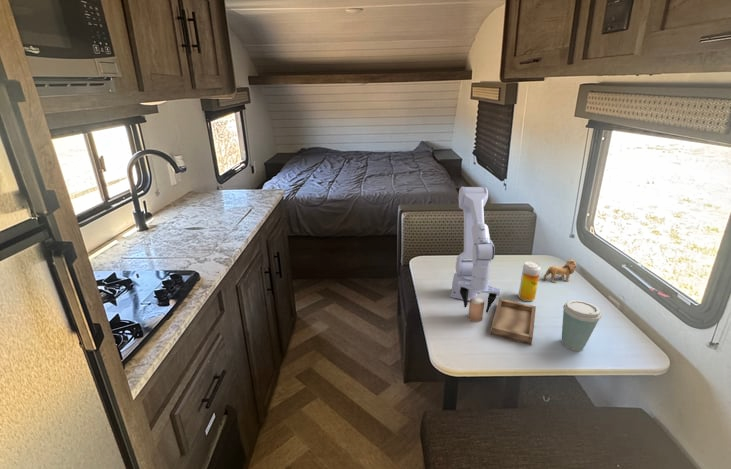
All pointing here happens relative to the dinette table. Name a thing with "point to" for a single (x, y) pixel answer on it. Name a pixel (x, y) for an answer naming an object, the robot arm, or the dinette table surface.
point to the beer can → (529, 281)
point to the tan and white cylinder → (476, 309)
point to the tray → (514, 321)
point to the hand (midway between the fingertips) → (476, 308)
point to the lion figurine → (561, 270)
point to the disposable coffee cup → (578, 323)
